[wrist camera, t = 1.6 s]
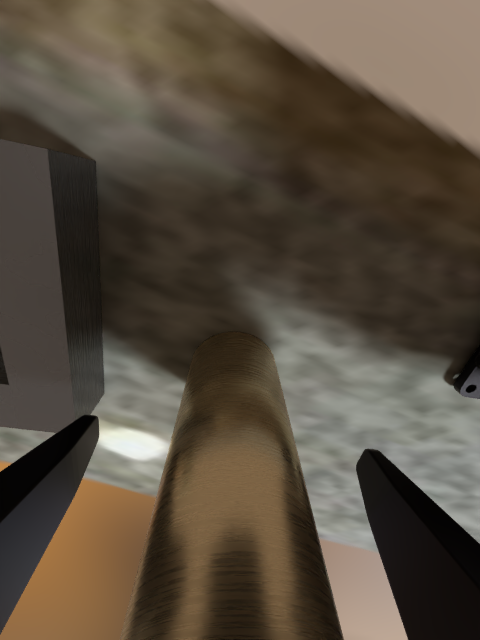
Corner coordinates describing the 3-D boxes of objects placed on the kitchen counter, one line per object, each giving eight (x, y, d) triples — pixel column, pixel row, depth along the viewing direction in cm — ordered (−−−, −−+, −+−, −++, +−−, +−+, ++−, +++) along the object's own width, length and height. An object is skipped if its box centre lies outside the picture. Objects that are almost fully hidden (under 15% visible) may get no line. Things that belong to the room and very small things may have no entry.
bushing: (284, 339, 12) (398, 658, 4) (264, 405, 14) (312, 728, 5) (196, 325, 11) (102, 647, 3) (186, 395, 13) (109, 726, 5)
